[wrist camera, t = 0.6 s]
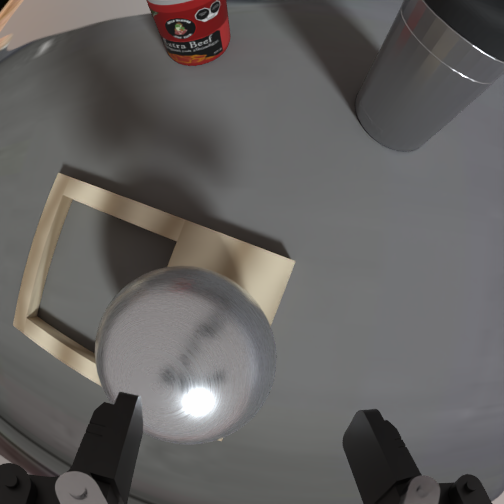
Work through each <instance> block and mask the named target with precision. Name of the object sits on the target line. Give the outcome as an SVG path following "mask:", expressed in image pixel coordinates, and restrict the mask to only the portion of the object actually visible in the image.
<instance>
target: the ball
mask: <svg viewBox="0 0 504 504" xmlns="http://www.w3.org/2000/svg"><path fill="white" fill-rule="evenodd" d="M276 358H277V355H276V344H275V340H274V335H273V332H272V329H271V326H270V324H269V321H268V319H267V318H266V316H265V314H264V312H263V310H262V309H261V307H260V306H259V305H258V303H257V302H256V301H255V300H254V298H253V297H252V296H251V295H250V294H249V293H248V292H247V291H246V290H244V289H243V288H242V287H241V286H240V285H238V284H237V283H236V282H234V281H232V280H231V279H229V278H228V277H226V276H224V275H221V274H219V273H217V272H214V271H211V270H208V269H205V268H200V267H194V266H173V267H165V268H160V269H156V270H153V271H151V272H148V273H145V274H143V275H142V276H140V277H138V278H136V279H135V280H133V281H131V282H130V283H129V284H127V285H126V286H125V287H124V288H122V289H121V291H120V292H119V293H118V294H117V295H116V296H115V297H114V298H113V300H112V301H111V302H110V304H109V305H108V307H107V308H106V310H105V312H104V314H103V316H102V318H101V321H100V324H99V327H98V331H97V335H96V340H95V362H96V368H97V373H98V376H99V380H100V383H101V385H102V388H103V390H104V392H105V394H106V396H107V398H108V399H109V401H110V403H111V404H114V403H115V401H116V398H117V396H118V394H119V392H124V393H129V394H134V395H138V396H140V397H141V404H142V415H143V433H145V434H147V435H149V436H152V437H154V438H157V439H159V440H163V441H167V442H171V443H177V444H202V443H207V442H212V441H215V440H218V439H221V438H224V437H226V436H228V435H230V434H232V433H234V432H236V431H237V430H239V429H240V428H241V427H243V426H244V425H245V424H247V423H248V422H249V421H250V420H251V419H252V418H253V417H254V416H255V415H256V414H257V412H258V411H259V410H260V408H261V407H262V406H263V404H264V402H265V400H266V398H267V397H268V395H269V393H270V390H271V387H272V385H273V382H274V377H275V372H276Z"/></svg>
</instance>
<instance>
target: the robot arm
mask: <svg viewBox="0 0 504 504" xmlns="http://www.w3.org/2000/svg"><path fill="white" fill-rule="evenodd" d="M503 73H504V0H404V1H403V3H402V6H401V8H400V10H399V12H398V14H397V16H396V18H395V20H394V22H393V24H392V26H391V28H390V30H389V32H388V34H387V37H386V39H385V41H384V43H383V45H382V47H381V49H380V51H379V53H378V55H377V57H376V59H375V61H374V63H373V65H372V67H371V69H370V71H369V73H368V74H367V76H366V79H365V81H364V83H363V85H362V87H361V88H360V90H359V92H358V94H357V97H356V101H355V106H356V112H357V116H358V118H359V120H360V122H361V124H362V126H363V127H364V129H365V130H366V131H367V132H368V133H369V134H370V135H371V136H372V137H373V139H375V140H376V141H378V142H379V143H380V144H382V145H384V146H386V147H388V148H390V149H393V150H396V151H403V152H407V151H413V150H416V149H418V148H419V147H421V146H422V145H423V144H424V143H425V142H427V141H428V140H429V139H430V138H431V137H432V136H434V135H435V134H436V133H437V132H439V131H440V130H441V129H442V128H443V127H444V126H445V125H447V124H448V123H449V122H450V121H451V120H452V119H453V118H455V117H456V116H457V115H458V114H459V113H460V112H461V111H463V110H464V109H465V108H466V107H467V106H468V105H469V104H470V103H472V102H473V101H474V100H475V99H476V98H477V97H478V96H479V95H481V94H482V93H483V92H484V91H485V90H486V89H487V88H488V87H489V86H491V85H492V84H493V83H494V82H495V81H496V80H497V79H498V78H499V77H500V76H501V75H502V74H503ZM142 433H143V415H142V404H141V397H140V396H138V395H134V394H129V393H124V392H119V394H118V396H117V398H116V401H115V403H114V404H110V403H106V402H104V403H103V404H101V405H100V406H99V407H98V408H97V409H96V410H95V411H94V413H93V415H92V418H91V420H90V424H89V425H88V427H87V429H86V433H85V434H84V437H83V439H82V442H81V444H80V447H79V449H78V452H77V454H76V457H75V460H74V462H73V465H72V467H71V468H70V470H69V471H67V472H66V473H64V474H62V475H61V476H57V477H44V476H36V475H29V474H27V472H26V471H25V470H24V469H23V468H21V467H20V466H18V465H16V464H12V463H6V464H2V465H0V504H127V501H128V496H129V491H130V487H131V482H132V477H133V473H134V468H135V464H136V459H137V455H138V451H139V447H140V442H141V438H142ZM343 448H344V451H345V454H346V456H347V459H348V462H349V465H350V467H351V470H352V473H353V476H354V478H355V481H356V484H357V487H358V489H359V492H360V495H361V498H362V501H363V503H364V504H492V503H491V501H490V499H489V497H488V495H487V493H486V491H485V489H484V487H483V486H482V484H481V482H480V480H479V479H478V478H477V477H475V476H473V475H469V474H466V475H463V476H461V477H460V478H459V479H458V480H457V481H456V482H455V483H437V481H436V480H435V479H433V478H432V477H429V476H425V475H421V473H420V471H419V470H418V468H417V466H416V464H415V462H414V460H413V458H412V456H411V455H410V453H409V451H408V449H407V447H405V443H404V442H403V440H401V436H400V434H399V432H398V431H397V429H396V428H395V427H394V426H393V425H392V424H391V423H390V422H389V421H388V420H385V421H384V419H383V417H382V415H381V413H380V412H379V411H378V410H377V409H372V410H360V411H358V412H357V413H356V414H355V416H354V418H353V420H352V422H351V423H350V425H349V427H348V429H347V430H346V432H345V434H344V436H343Z"/></svg>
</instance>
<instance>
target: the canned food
mask: <svg viewBox="0 0 504 504" xmlns="http://www.w3.org/2000/svg"><path fill="white" fill-rule="evenodd" d="M147 3H148V6H149V8H150V11H151V13H152V16H153V18H154V20H155V23H156V25H157V28H158V30H159V33H160V35H161V38H162V40H163V42H164V45H165V47H166V50H167V52H168V54H169V56H170V57H171V58H172V59H173V60H174V61H176V62H177V63H179V64H182V65H188V66H196V65H202V64H205V63H208V62H210V61H213V60H214V59H216V58H218V57H219V56H220V55H222V54H223V53H224V51H225V50H226V49H227V47H228V44H229V41H230V28H229V20H228V11H227V3H226V0H147Z"/></svg>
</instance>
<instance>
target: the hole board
mask: <svg viewBox="0 0 504 504" xmlns="http://www.w3.org/2000/svg"><path fill="white" fill-rule="evenodd" d="M72 200H76V201H78V202H80V203H83V204H85V205H88V206H90V207H92V208H95V209H97V210H100V211H102V212H105V213H107V214H109V215H112V216H114V217H117V218H119V219H122V220H124V221H127V222H129V223H132V224H134V225H137V226H139V227H141V228H144V229H146V230H149V231H151V232H154V233H156V234H159V235H161V236H164V237H166V238H169V239H171V240H174V241H177V243H176V245H175V248H174V250H173V253H172V255H171V258H170V261H169V263H168V266H167V267H173V266H194V267H200V268H205V269H208V270H211V271H214V272H217V273H219V274H221V275H224V276H226V277H228V278H229V279H231V280H232V281H234V282H236V283H237V284H238V285H240V286H241V287H242V288H243V289H244V290H246V291H247V292H248V293H249V294H250V295H251V296H252V297H253V298H254V300H255V301H256V302H257V303H258V305H259V306H260V307H261V309H262V310H263V312H264V314H265V316H266V318H267V319H268V321H269V324H270V326H271V324H272V321H273V319H274V316H275V314H276V311H277V308H278V306H279V303H280V301H281V298H282V296H283V293H284V290H285V288H286V285H287V283H288V280H289V277H290V275H291V272H292V269H293V267H294V264H295V261H293V260H291V259H288V258H285V257H283V256H280V255H278V254H275V253H272V252H270V251H267V250H264V249H262V248H259V247H257V246H254V245H251V244H249V243H246V242H243V241H241V240H238V239H235V238H233V237H230V236H227V235H225V234H222V233H220V232H217V231H214V230H212V229H209V228H206V227H204V226H201V225H198V224H196V223H193V222H190V221H188V220H185V219H182V218H180V217H177V216H174V215H172V214H169V213H166V212H163V211H161V210H158V209H155V208H153V207H150V206H147V205H145V204H142V203H139V202H137V201H134V200H131V199H129V198H126V197H123V196H120V195H118V194H115V193H112V192H110V191H107V190H104V189H101V188H99V187H96V186H93V185H91V184H88V183H85V182H82V181H80V180H77V179H74V178H71V177H69V176H66V175H63V174H61V173H58V175H57V177H56V180H55V182H54V184H53V187H52V189H51V192H50V194H49V197H48V199H47V202H46V205H45V207H44V210H43V213H42V215H41V218H40V221H39V224H38V227H37V230H36V233H35V236H34V239H33V243H32V246H31V249H30V253H29V256H28V260H27V263H26V267H25V271H24V275H23V279H22V283H21V287H20V292H19V297H18V301H17V306H16V312H15V317H14V323H13V325H14V326H15V327H16V328H17V329H19V330H20V331H21V332H22V333H24V334H25V335H26V336H27V337H29V338H30V339H31V340H33V341H34V342H35V343H37V344H38V345H39V346H41V347H42V348H43V349H45V350H46V351H48V352H49V353H50V354H52V355H53V356H55V357H56V358H57V359H59V360H60V361H62V362H63V363H65V364H66V365H68V366H69V367H71V368H72V369H74V370H76V371H77V372H79V373H80V374H82V375H84V376H85V377H87V378H88V379H90V380H92V381H93V382H95V383H97V384H98V385H100V386H102V385H101V383H100V380H99V376H98V373H97V368H96V362H95V353H93V352H91V351H90V350H88V349H86V348H85V347H83V346H81V345H80V344H78V343H76V342H75V341H73V340H72V339H70V338H68V337H67V336H65V335H64V334H62V333H61V332H59V331H58V330H56V329H55V328H53V327H52V326H50V325H49V324H47V323H46V322H45V321H43V320H42V319H40V318H39V317H37V314H38V310H39V305H40V301H41V297H42V293H43V289H44V285H45V281H46V277H47V274H48V270H49V267H50V263H51V260H52V257H53V253H54V250H55V247H56V244H57V241H58V238H59V235H60V232H61V229H62V226H63V224H64V221H65V218H66V216H67V213H68V210H69V208H70V205H71V203H72ZM222 439H223V438H221V439H218V440H219V441H222Z"/></svg>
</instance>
